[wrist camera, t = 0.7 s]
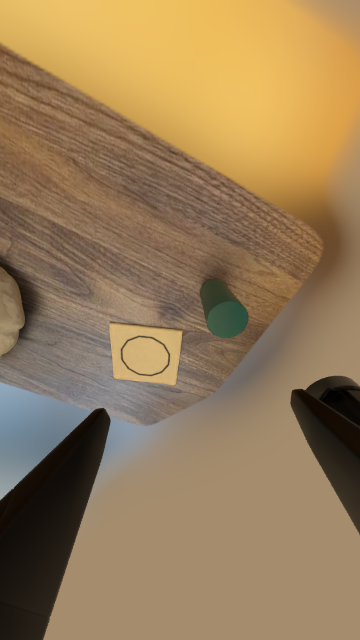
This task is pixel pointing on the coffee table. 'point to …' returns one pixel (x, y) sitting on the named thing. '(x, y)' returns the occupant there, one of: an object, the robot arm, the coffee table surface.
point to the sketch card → (145, 353)
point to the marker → (222, 309)
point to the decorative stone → (9, 312)
